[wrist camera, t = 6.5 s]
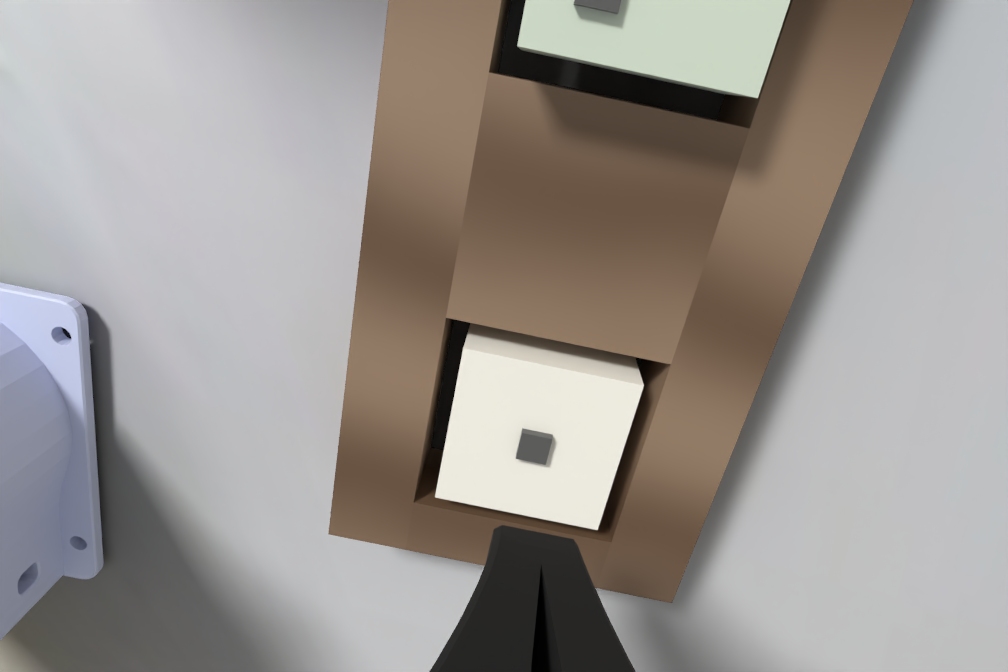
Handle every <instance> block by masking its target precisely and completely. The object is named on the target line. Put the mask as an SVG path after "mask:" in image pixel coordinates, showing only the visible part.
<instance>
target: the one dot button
mask: <svg viewBox="0 0 1008 672" xmlns="http://www.w3.org/2000/svg"><path fill="white" fill-rule="evenodd" d="M643 387H644V384H643V381H642V378H641V374H640V371H639V368H638V365H637V362H636V358H635V357H633V356H628V355H623V354H618V353H613V352H609V351H604V350H599V349H594V348H589V347H584V346H580V345H575V344H570V343H565V342H560V341H556V340H551V339H546V338H541V337H536V336H532V335H527V334H522V333H517V332H512V331H507V330H503V329H498V328H493V327H488V326H483V325H479V324H474V323H471V324H470V327H469V330H468V334H467V337H466V340H465V344H464V347H463V351H462V357H461V362H460V367H459V372H458V378H457V383H456V388H455V394H454V399H453V404H452V409H451V415H450V420H449V425H448V430H447V436H446V441H445V446H444V451H443V457H442V462H441V467H440V473H439V478H438V483H437V488H436V494H435V497H436V498H441V499H446V500H450V501H455V502H460V503H465V504H470V505H475V506H480V507H485V508H490V509H495V510H500V511H505V512H510V513H515V514H520V515H525V516H530V517H535V518H539V519H544V520H549V521H554V522H559V523H564V524H569V525H574V526H579V527H584V528H589V529H594V530H598V527H599V524H600V521H601V518H602V515H603V512H604V509H605V506H606V502H607V499H608V496H609V493H610V490H611V487H612V484H613V481H614V478H615V474H616V471H617V468H618V465H619V462H620V459H621V456H622V453H623V449H624V446H625V443H626V440H627V437H628V434H629V431H630V428H631V425H632V421H633V418H634V415H635V412H636V409H637V406H638V403H639V400H640V397H641V393H642V390H643Z"/></svg>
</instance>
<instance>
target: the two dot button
mask: <svg viewBox="0 0 1008 672" xmlns="http://www.w3.org/2000/svg"><path fill="white" fill-rule="evenodd" d="M789 3H790V0H526V1H525V7H524V12H523V17H522V23H521V28H520V33H519V39H518V44H517V46H518V47H519V48H520V49H521V50H522V51H527V52H531V53H536V54H541V55H545V56H550V57H555V58H559V59H564V60H568V61H573V62H578V63H582V64H587V65H592V66H596V67H601V68H605V69H610V70H615V71H619V72H624V73H628V74H633V75H638V76H642V77H647V78H652V79H656V80H661V81H665V82H670V83H675V84H679V85H684V86H689V87H693V88H698V89H702V90H707V91H712V92H716V93H721V94H727V95H736V96H744V97H752V98H758V96H759V93H760V90H761V87H762V84H763V81H764V78H765V75H766V72H767V69H768V66H769V63H770V60H771V57H772V54H773V51H774V48H775V45H776V42H777V39H778V36H779V33H780V30H781V27H782V24H783V21H784V18H785V15H786V12H787V9H788V6H789Z"/></svg>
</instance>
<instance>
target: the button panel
mask: <svg viewBox="0 0 1008 672" xmlns="http://www.w3.org/2000/svg"><path fill="white" fill-rule="evenodd" d="M913 1H914V0H790V3H789V6H788V9H787V12H786V15H785V18H784V21H783V24H782V27H781V30H780V33H779V36H778V39H777V42H776V45H775V48H774V51H773V54H772V57H771V60H770V63H769V66H768V69H767V72H766V75H765V78H764V81H763V84H762V87H761V90H760V93H759V96H758V98H752V97H744V96H736V95H727V94H725V95H724V99H723V102H722V105H721V108H720V111H719V115H718V118H717V120H716V119H712V118H707V117H702V116H698V115H693V114H688V113H684V112H679V111H675V110H670V109H665V108H661V107H656V106H651V105H647V104H642V103H637V102H633V101H628V100H623V99H619V98H614V97H610V96H605V95H600V94H596V93H591V92H586V91H582V90H577V89H572V88H568V87H563V86H559V85H554V84H549V83H545V82H540V81H535V80H531V79H526V78H521V77H517V76H512V75H508V74H503V73H498V71H499V65H500V60H501V54H502V48H503V43H504V37H505V32H506V26H507V21H508V15H509V10H510V4H511V0H389V2H388V11H387V20H386V29H385V38H384V47H383V56H382V64H381V73H380V82H379V91H378V100H377V109H376V118H375V127H374V135H373V144H372V153H371V162H370V171H369V180H368V189H367V197H366V206H365V215H364V224H363V233H362V242H361V251H360V260H359V268H358V277H357V286H356V295H355V304H354V313H353V322H352V330H351V339H350V348H349V357H348V366H347V375H346V384H345V393H344V401H343V410H342V419H341V428H340V437H339V446H338V455H337V463H336V472H335V481H334V490H333V499H332V508H331V517H330V526H329V534H330V535H335V536H340V537H345V538H350V539H355V540H360V541H365V542H370V543H375V544H380V545H385V546H390V547H395V548H400V549H405V550H410V551H415V552H420V553H425V554H430V555H435V556H440V557H445V558H450V559H455V560H460V561H465V562H470V563H475V564H480V565H485V564H486V560H487V555H488V551H489V547H490V543H491V539H492V535H493V530H494V529H495V528H497V527H499V526H501V525H505V526H510V527H515V528H520V529H525V530H530V531H535V532H540V533H545V534H550V535H555V536H560V537H566V538H571V539H574V541H575V542H576V544H577V545H578V547H579V550H580V552H581V555H582V558H583V560H584V563H585V565H586V568H587V570H588V573H589V575H590V578H591V580H592V582H593V585H594V587H595V588H600V589H605V590H610V591H615V592H620V593H624V594H629V595H634V596H639V597H644V598H649V599H654V600H659V601H664V602H669V603H672V601H673V599H674V596H675V594H676V592H677V589H678V587H679V584H680V582H681V579H682V577H683V574H684V572H685V569H686V567H687V564H688V562H689V559H690V557H691V554H692V552H693V549H694V547H695V544H696V542H697V539H698V537H699V534H700V532H701V529H702V527H703V524H704V522H705V519H706V517H707V514H708V512H709V509H710V507H711V504H712V502H713V499H714V497H715V494H716V492H717V489H718V487H719V484H720V482H721V479H722V477H723V474H724V472H725V469H726V467H727V464H728V462H729V459H730V457H731V454H732V452H733V449H734V447H735V444H736V442H737V439H738V437H739V434H740V432H741V429H742V427H743V424H744V422H745V419H746V417H747V414H748V412H749V409H750V407H751V404H752V402H753V400H754V397H755V395H756V392H757V390H758V387H759V385H760V382H761V380H762V377H763V375H764V372H765V370H766V367H767V365H768V362H769V360H770V357H771V355H772V352H773V350H774V347H775V345H776V342H777V340H778V337H779V335H780V332H781V330H782V327H783V325H784V322H785V320H786V317H787V315H788V312H789V310H790V307H791V305H792V302H793V300H794V297H795V295H796V292H797V290H798V287H799V285H800V282H801V280H802V277H803V275H804V272H805V270H806V267H807V265H808V262H809V260H810V257H811V255H812V252H813V250H814V247H815V245H816V242H817V240H818V237H819V235H820V232H821V230H822V227H823V225H824V222H825V220H826V217H827V215H828V212H829V210H830V207H831V205H832V203H833V200H834V198H835V195H836V193H837V190H838V188H839V185H840V183H841V180H842V178H843V175H844V173H845V170H846V168H847V165H848V163H849V160H850V158H851V155H852V153H853V150H854V148H855V145H856V143H857V140H858V138H859V135H860V133H861V130H862V128H863V125H864V123H865V120H866V118H867V115H868V113H869V110H870V108H871V105H872V103H873V100H874V98H875V95H876V93H877V90H878V88H879V85H880V83H881V80H882V78H883V75H884V73H885V70H886V68H887V65H888V63H889V60H890V58H891V55H892V53H893V50H894V48H895V45H896V43H897V40H898V38H899V35H900V33H901V30H902V28H903V25H904V23H905V20H906V18H907V15H908V13H909V11H910V8H911V6H912V3H913ZM454 319H455V320H459V321H464V322H469V323H474V324H479V325H483V326H488V327H493V328H498V329H503V330H507V331H512V332H517V333H522V334H527V335H532V336H536V337H541V338H546V339H551V340H556V341H560V342H565V343H570V344H575V345H580V346H584V347H589V348H594V349H599V350H604V351H609V352H613V353H618V354H623V355H628V356H633V357H637V358H642V360H641V363H640V367H639V371H640V374H641V378H642V381H643V384H644V387H643V390H642V393H641V397H640V400H639V403H638V406H637V409H636V412H635V415H634V418H633V421H632V425H631V428H630V431H629V434H628V437H627V440H626V443H625V446H624V449H623V453H622V456H621V459H620V462H619V465H618V468H617V471H616V474H615V478H614V481H613V484H612V487H611V490H610V493H609V496H608V499H607V502H606V506H605V509H604V512H603V515H602V518H601V521H600V524H599V527H598V530H594V529H589V528H584V527H579V526H574V525H569V524H564V523H559V522H554V521H549V520H544V519H539V518H535V517H530V516H525V515H520V514H515V513H510V512H505V511H500V510H495V509H490V508H485V507H480V506H475V505H470V504H465V503H460V502H455V501H450V500H446V499H441V498H436V497H435V494H436V488H437V483H438V478H439V473H440V467H441V462H442V457H443V451H444V450H440V449H435V448H431V443H432V437H433V432H434V426H435V421H436V415H437V410H438V404H439V398H440V393H441V387H442V382H443V376H444V371H445V365H446V360H447V354H448V348H449V343H450V337H451V332H452V326H453V321H454Z"/></svg>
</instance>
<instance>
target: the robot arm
mask: <svg viewBox="0 0 1008 672" xmlns="http://www.w3.org/2000/svg"><path fill="white" fill-rule="evenodd" d="M62 328H64V329H66V330H67V331H68V332H69V333H70V335H71V339H70V338H68V337H67V336H66V335H65V334H64V333H63V330H62ZM82 538H83V539H84V540H83V539H82ZM102 568H103V547H102V531H101V516H100V500H99V484H98V468H97V453H96V437H95V421H94V405H93V390H92V374H91V358H90V342H89V327H88V316H87V312H86V310H85V309H84V307H83V306H82V304H80V303H79V302H78V301H77V300H75V299H73V298H71V297H68V296H63V295H58V294H53V293H49V292H44V291H39V290H34V289H29V288H24V287H19V286H15V285H10V284H5V283H0V640H1V639H2V638H3V637H4V636H5V635H6V634H7V633H8V632H9V631H10V630H11V629H12V628H13V627H14V626H15V625H16V624H17V623H18V622H19V621H20V620H21V619H22V617H23V616H24V615H25V614H26V613H27V612H28V611H29V610H30V609H31V608H32V607H33V606H34V605H35V604H36V603H37V602H38V601H39V600H40V599H41V598H42V597H43V596H44V595H45V594H46V593H47V591H48V590H49V589H50V588H51V587H52V586H53V585H54V584H55V583H56V582H57V581H58V580H59V579H60V578H61V577H62V576H68V577H73V578H78V579H91V578H94V577H95V576H96V575H97V573H98V572H99V571H100V570H101V569H102ZM430 672H635V670H634V668H633V666H632V664H631V662H630V660H629V658H628V656H627V654H626V652H625V650H624V648H623V646H622V644H621V642H620V640H619V638H618V636H617V634H616V632H615V630H614V628H613V626H612V624H611V622H610V620H609V618H608V616H607V614H606V612H605V609H604V607H603V605H602V603H601V601H600V598H599V596H598V594H597V592H596V589H595V587H594V585H593V582H592V580H591V578H590V575H589V573H588V570H587V568H586V565H585V563H584V560H583V558H582V555H581V552H580V550H579V547H578V545H577V544H576V542H575V541H574V539H571V538H566V537H560V536H555V535H550V534H545V533H540V532H535V531H530V530H525V529H520V528H515V527H510V526H505V525H501V526H499V527H497V528H495V529H494V530H493V535H492V539H491V543H490V547H489V551H488V555H487V560H486V564H485V567H484V570H483V572H482V575H481V577H480V580H479V582H478V584H477V586H476V589H475V591H474V593H473V595H472V597H471V599H470V601H469V603H468V605H467V607H466V609H465V611H464V613H463V615H462V617H461V619H460V621H459V623H458V625H457V626H456V628H455V630H454V632H453V633H452V635H451V637H450V638H449V640H448V642H447V644H446V645H445V647H444V649H443V650H442V652H441V654H440V656H439V657H438V659H437V661H436V662H435V664H434V666H433V667H432V669H431V670H430Z"/></svg>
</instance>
